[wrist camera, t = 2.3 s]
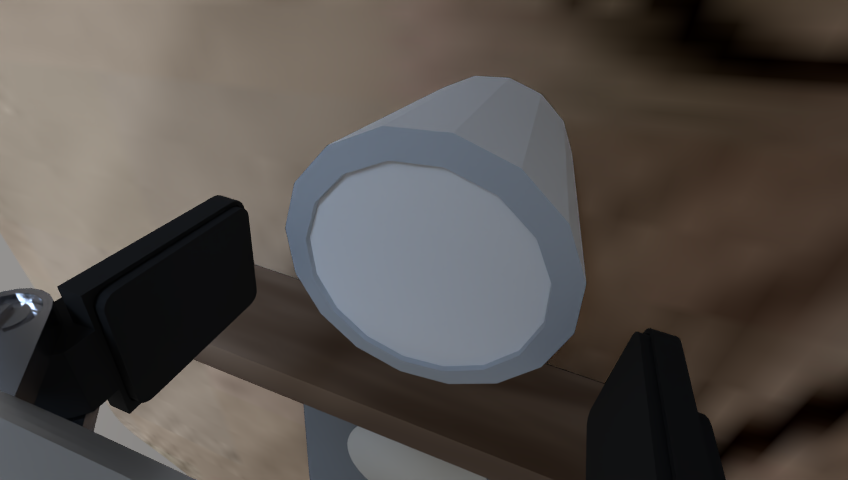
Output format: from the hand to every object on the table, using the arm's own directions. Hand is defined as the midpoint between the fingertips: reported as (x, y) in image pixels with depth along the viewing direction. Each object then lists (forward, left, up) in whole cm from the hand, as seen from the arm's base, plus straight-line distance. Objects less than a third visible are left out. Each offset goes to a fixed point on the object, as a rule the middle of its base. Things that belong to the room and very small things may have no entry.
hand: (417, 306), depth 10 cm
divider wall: (+9, 0, -7) cm, 11 cm away
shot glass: (-1, 0, -7) cm, 7 cm away
